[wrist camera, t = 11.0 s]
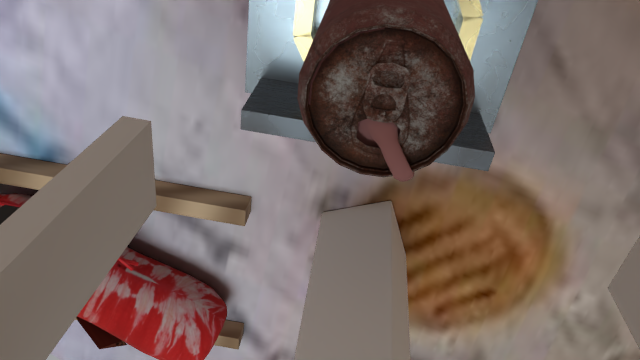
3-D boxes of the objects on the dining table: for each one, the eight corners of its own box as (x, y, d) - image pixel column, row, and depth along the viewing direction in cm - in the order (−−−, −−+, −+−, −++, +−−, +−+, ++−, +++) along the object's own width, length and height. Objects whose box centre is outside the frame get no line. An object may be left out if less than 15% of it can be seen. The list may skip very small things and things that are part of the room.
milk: (391, 199, 40) (397, 484, 21) (406, 255, 43) (422, 548, 24) (320, 211, 41) (267, 489, 23) (339, 265, 44) (306, 548, 26)
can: (363, 80, 30) (349, 214, 19) (312, -16, 28) (258, 71, 16) (457, 34, 28) (508, 153, 16) (412, -74, 26) (435, -23, 14)
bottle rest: (251, 196, 41) (245, 210, 40) (243, 333, 51) (238, 349, 49) (-46, 145, 42) (-64, 157, 40) (2, 289, 52) (-11, 303, 50)
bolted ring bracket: (544, -83, 28) (601, -65, 20) (480, 107, 35) (506, 174, 27) (270, -125, 29) (227, -122, 21) (258, 70, 35) (223, 126, 28)
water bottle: (170, 401, 48) (-88, 283, 43) (201, 330, 54) (-22, 219, 49) (215, 358, 40) (-94, 208, 35) (246, 281, 46) (-14, 143, 41)
